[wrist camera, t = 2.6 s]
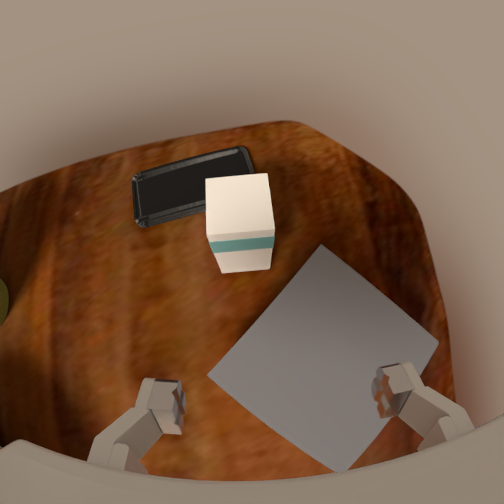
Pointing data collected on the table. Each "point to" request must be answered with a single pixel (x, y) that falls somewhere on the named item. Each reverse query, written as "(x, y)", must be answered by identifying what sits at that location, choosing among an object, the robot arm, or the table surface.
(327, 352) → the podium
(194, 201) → the phone
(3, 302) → the flower pot
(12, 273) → the table surface
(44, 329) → the table surface
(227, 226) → the carton
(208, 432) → the table surface
